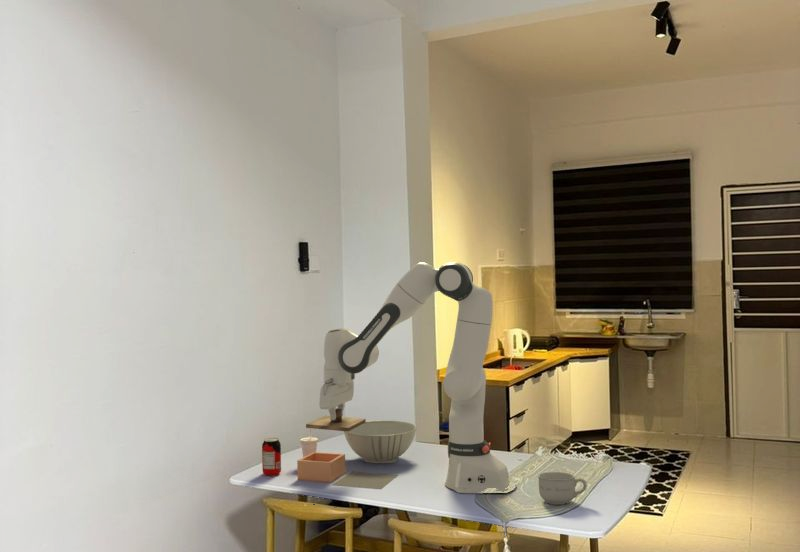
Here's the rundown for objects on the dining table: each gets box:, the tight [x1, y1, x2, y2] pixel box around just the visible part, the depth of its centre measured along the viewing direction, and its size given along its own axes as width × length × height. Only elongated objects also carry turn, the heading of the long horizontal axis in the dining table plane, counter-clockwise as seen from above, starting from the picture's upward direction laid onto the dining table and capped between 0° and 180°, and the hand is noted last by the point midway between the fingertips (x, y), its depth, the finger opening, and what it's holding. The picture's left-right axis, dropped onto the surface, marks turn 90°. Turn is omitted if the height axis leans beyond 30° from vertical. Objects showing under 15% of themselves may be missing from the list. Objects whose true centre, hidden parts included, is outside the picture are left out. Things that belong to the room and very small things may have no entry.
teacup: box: [537, 471, 588, 505], centre depth 209 cm, size 14×11×8 cm
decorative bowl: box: [343, 419, 417, 464], centre depth 262 cm, size 27×27×12 cm
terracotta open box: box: [296, 451, 346, 484], centre depth 240 cm, size 12×12×7 cm
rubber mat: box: [332, 470, 399, 490], centre depth 235 cm, size 17×17×1 cm
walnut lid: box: [305, 408, 366, 432], centre depth 238 cm, size 15×15×5 cm
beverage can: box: [261, 437, 282, 477], centre depth 246 cm, size 6×6×12 cm
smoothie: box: [299, 428, 319, 458], centre depth 256 cm, size 6×6×14 cm
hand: (336, 418), depth 238 cm, fingers closed on walnut lid, 4 cm apart
